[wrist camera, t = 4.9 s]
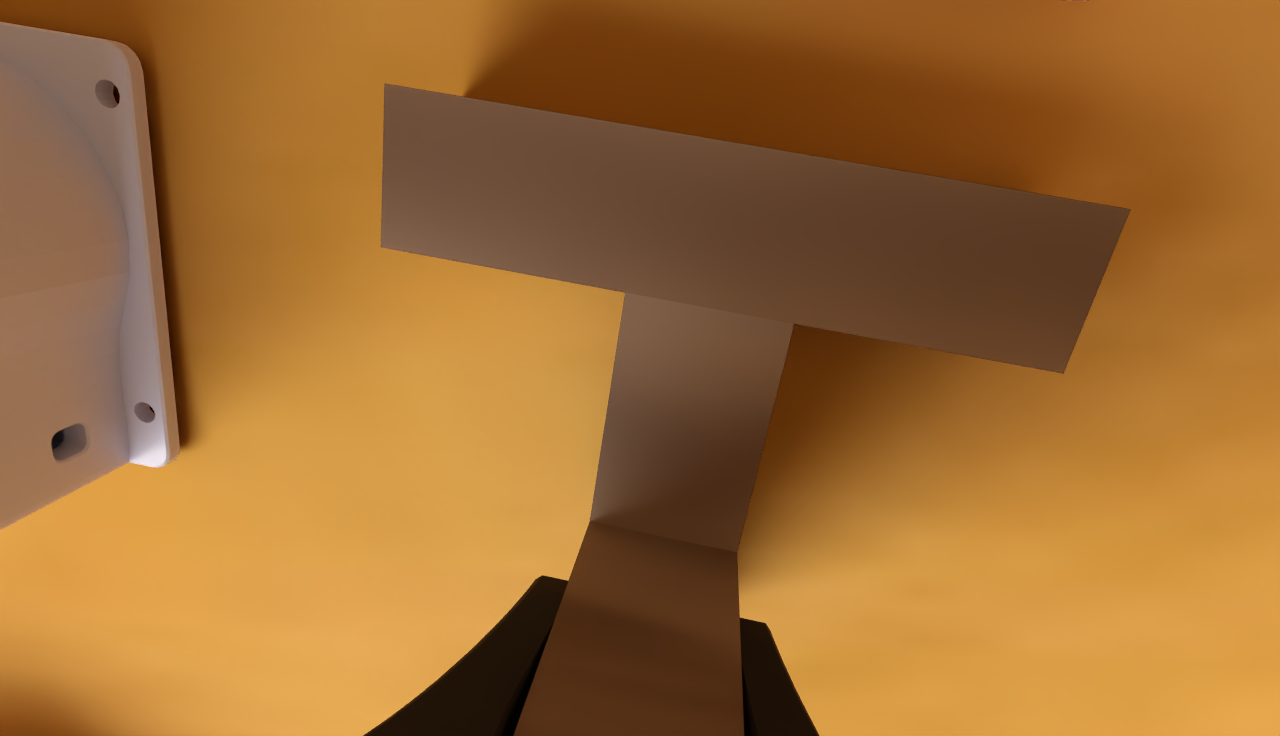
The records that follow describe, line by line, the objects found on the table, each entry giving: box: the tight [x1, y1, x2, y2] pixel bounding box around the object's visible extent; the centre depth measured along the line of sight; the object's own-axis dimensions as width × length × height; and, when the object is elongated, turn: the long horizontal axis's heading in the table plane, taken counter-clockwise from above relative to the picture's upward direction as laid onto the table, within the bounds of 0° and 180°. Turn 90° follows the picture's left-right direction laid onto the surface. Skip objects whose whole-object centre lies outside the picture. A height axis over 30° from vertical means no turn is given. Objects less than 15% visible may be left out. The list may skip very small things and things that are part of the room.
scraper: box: [381, 84, 1131, 736], centre depth 10 cm, size 10×11×9 cm
